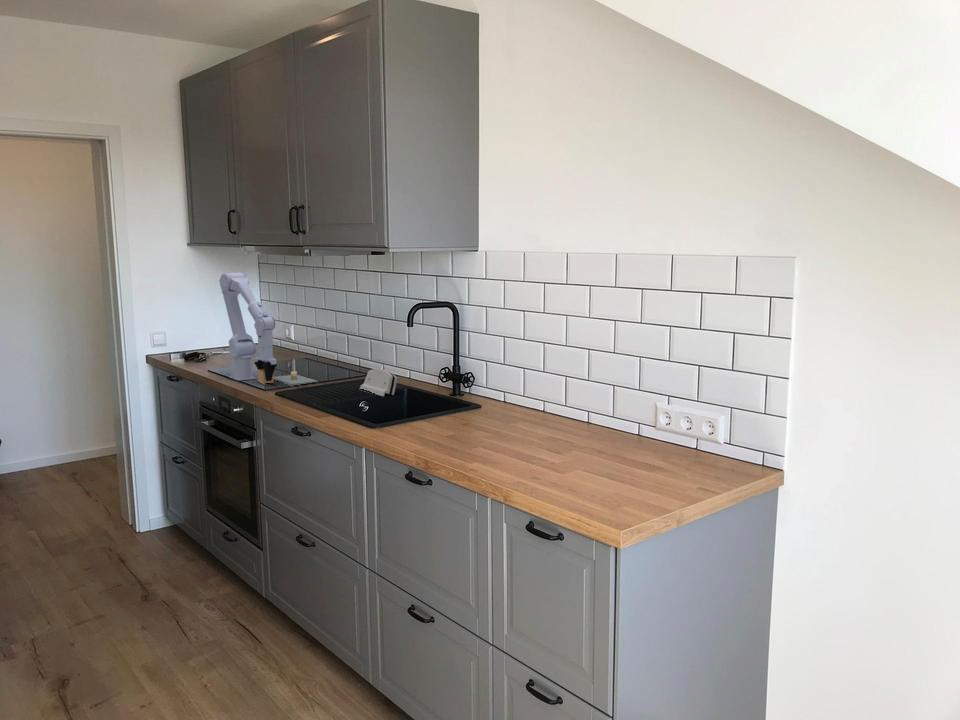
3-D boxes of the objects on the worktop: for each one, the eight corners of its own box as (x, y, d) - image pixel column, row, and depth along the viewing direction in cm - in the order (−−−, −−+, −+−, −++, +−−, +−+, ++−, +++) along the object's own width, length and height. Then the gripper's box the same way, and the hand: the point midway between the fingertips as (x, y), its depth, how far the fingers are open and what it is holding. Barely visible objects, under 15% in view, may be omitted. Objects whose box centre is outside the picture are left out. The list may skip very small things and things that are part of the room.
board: (270, 379, 329) (270, 370, 328) (296, 376, 337) (296, 367, 336) (291, 386, 316) (291, 376, 315) (318, 383, 324) (318, 373, 323)
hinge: (358, 389, 313) (366, 365, 314) (368, 392, 316) (375, 368, 317) (383, 396, 301) (391, 371, 302) (393, 399, 304) (400, 374, 305)
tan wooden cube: (258, 382, 321) (257, 369, 321) (268, 381, 325) (268, 368, 324) (263, 384, 318) (263, 371, 317) (273, 383, 321) (273, 370, 320)
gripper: (247, 345, 322) (248, 378, 324) (264, 349, 311) (265, 383, 313) (263, 343, 326) (264, 376, 328) (280, 348, 316) (281, 381, 318)
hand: (265, 379), depth 321 cm, fingers closed on tan wooden cube, 5 cm apart
